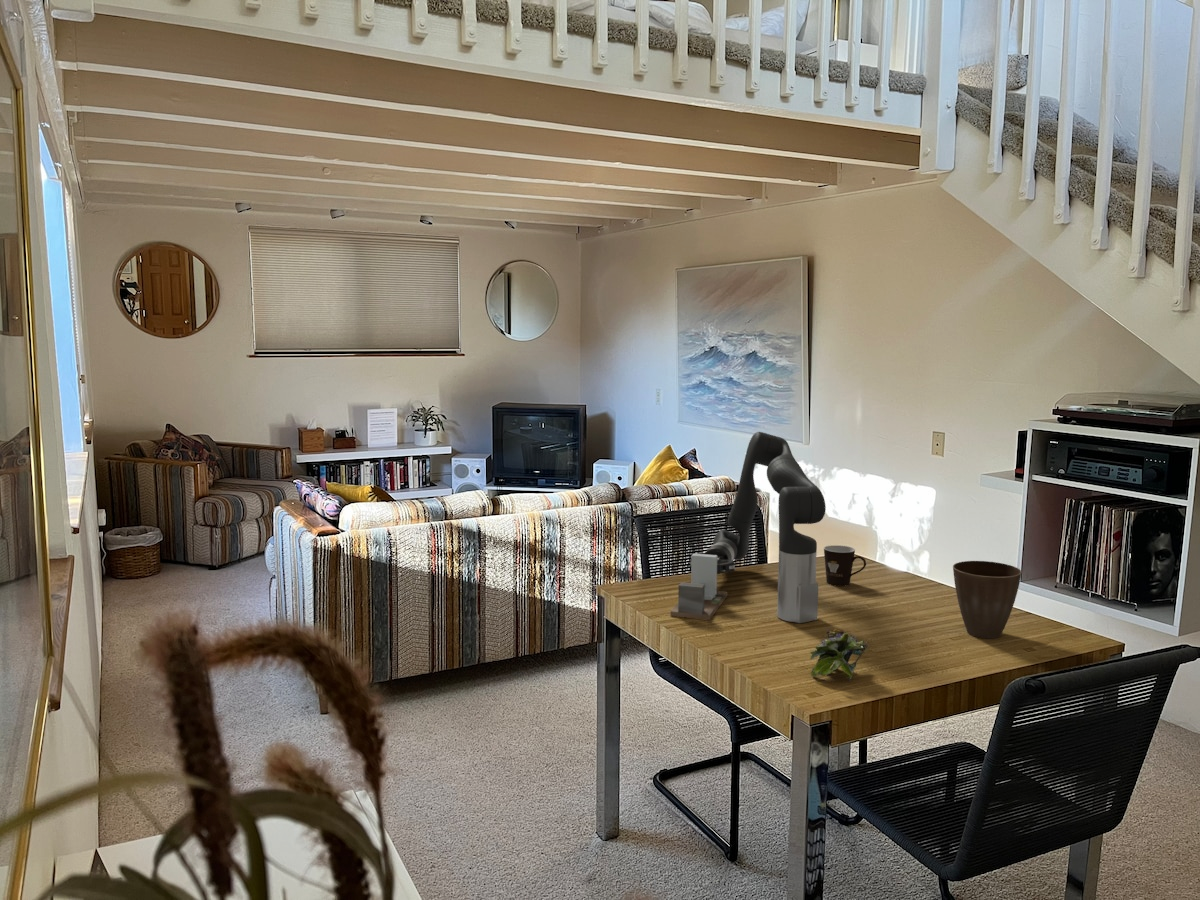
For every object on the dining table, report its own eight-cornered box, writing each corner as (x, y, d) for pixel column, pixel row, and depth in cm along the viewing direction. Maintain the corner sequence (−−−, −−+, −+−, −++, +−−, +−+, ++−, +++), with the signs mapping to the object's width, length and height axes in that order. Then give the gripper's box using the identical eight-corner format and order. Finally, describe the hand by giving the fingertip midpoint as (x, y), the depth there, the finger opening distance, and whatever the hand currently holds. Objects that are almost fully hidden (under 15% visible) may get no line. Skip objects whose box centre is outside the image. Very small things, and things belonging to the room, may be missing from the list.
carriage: (693, 592, 246) (693, 553, 244) (724, 596, 243) (725, 555, 241) (685, 601, 238) (686, 560, 237) (717, 604, 235) (718, 563, 234)
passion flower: (832, 693, 196) (856, 643, 198) (862, 703, 186) (887, 650, 188) (792, 667, 193) (817, 617, 196) (820, 676, 183) (846, 623, 186)
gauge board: (691, 592, 251) (691, 563, 250) (727, 596, 248) (727, 566, 247) (670, 616, 231) (670, 584, 230) (709, 620, 227) (709, 588, 226)
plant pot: (977, 647, 209) (980, 578, 206) (936, 626, 223) (939, 562, 221) (1031, 641, 212) (1036, 574, 210) (988, 621, 227) (992, 558, 225)
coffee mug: (816, 580, 263) (817, 547, 262) (840, 577, 267) (841, 544, 265) (843, 591, 253) (844, 556, 251) (867, 587, 256) (868, 552, 255)
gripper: (696, 542, 261) (681, 556, 245) (742, 546, 257) (729, 560, 241) (696, 568, 262) (680, 583, 246) (741, 572, 258) (729, 588, 242)
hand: (705, 572), depth 244 cm, fingers closed
